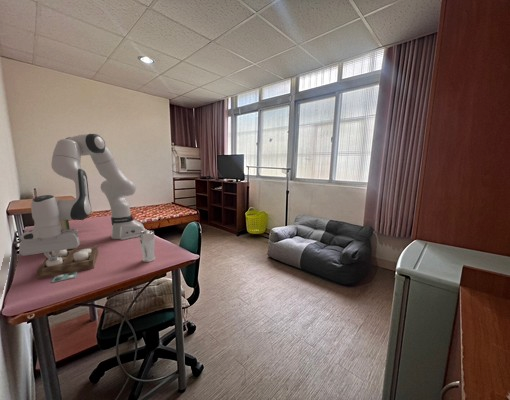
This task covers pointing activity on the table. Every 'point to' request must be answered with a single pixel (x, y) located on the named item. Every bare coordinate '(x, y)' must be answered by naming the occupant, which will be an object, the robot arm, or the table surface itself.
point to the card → (64, 277)
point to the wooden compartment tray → (68, 264)
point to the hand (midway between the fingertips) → (53, 260)
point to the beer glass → (147, 245)
